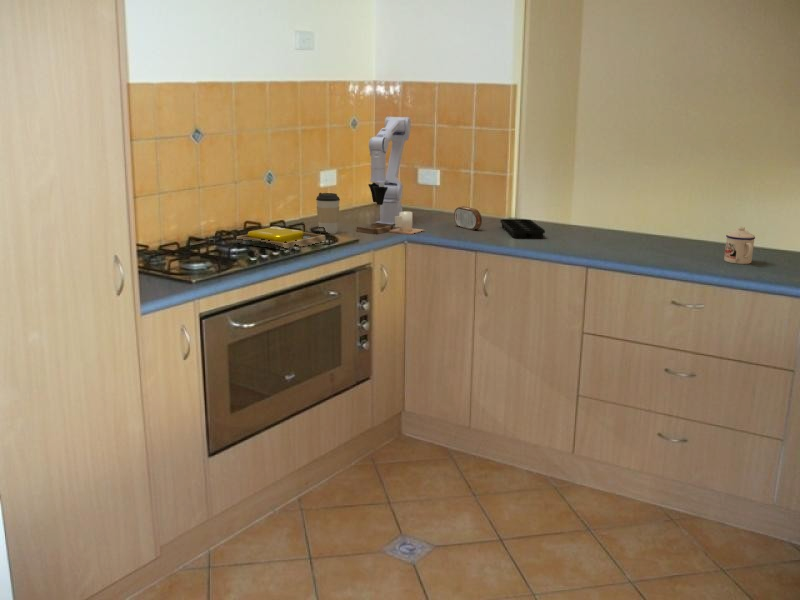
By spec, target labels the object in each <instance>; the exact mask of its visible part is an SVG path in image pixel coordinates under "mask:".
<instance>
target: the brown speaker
mask: <svg viewBox="0 0 800 600" xmlns="http://www.w3.org/2000/svg"><path fill="white" fill-rule="evenodd" d="M453 213H454V214H453V215H454V216H453V218H454V223H455V224H456V226H457V227H459V226H460V227H459V228H461V227H463V229H466V228H467V230H469V229H471V230H470V231H474V230H475V229H477V230H479V229H480V228H481V226H482V223H483V221H482V220H483V219H482V214H481V213H480V210H478V209H476V208H473V207H470V206H469V207H468V206H464V205H462V206H459V207H457V208H455V210H454V212H453ZM475 231H476V230H475Z"/></svg>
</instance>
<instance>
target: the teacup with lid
mask: <svg viewBox="0 0 800 600" xmlns="http://www.w3.org/2000/svg"><path fill="white" fill-rule="evenodd" d="M725 236H726V241H725V249H724V256H723V257H724V258H723V259H724V261H725V262H727V263H729V264H735V265H736V264H738V265H748V264H751V263H752V261H753V260H752V259H753V253H754V246H755V239H756V236H755V234H752V233H750V232H749V231H747V230H746V229H745V227H743V226H739V227H738V228H737V229H735V230H733V231H731V232H728V233H726V235H725Z"/></svg>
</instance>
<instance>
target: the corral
mask: <svg viewBox="0 0 800 600" xmlns="http://www.w3.org/2000/svg"><path fill="white" fill-rule="evenodd" d="M303 235H306V236H310V237H311V238H306V239H301V240H297V241H292V242H287V243H281V242H275V241H268V240H261V239H255V238H248V233H246V234H242V235H237V236H236V240H237V239H243V240H252V241H261V242H266V243H271V244H275V245H278V246H281V247H284V248H289V247H292V246H294V245H295V244H296V245H299V246H306V247H309V246H308V245H310V246H313V245H312V244H315V243H319V242H322V241H325V242H326V234H321V233H312V232H305V231H303ZM319 244H320V243H319ZM315 245H316V244H315Z"/></svg>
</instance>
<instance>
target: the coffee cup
mask: <svg viewBox="0 0 800 600" xmlns="http://www.w3.org/2000/svg"><path fill="white" fill-rule="evenodd" d="M315 200H316V214H317V222H318V228H319V227H324V228H325V230H326V232H328V233H330V234H329V235H333V234H337V233H338V222H339V215H340V201H341V199H340V197H339V196H338V193H332V192H331V193H330V192H319V193H318V196H316V199H315Z"/></svg>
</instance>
